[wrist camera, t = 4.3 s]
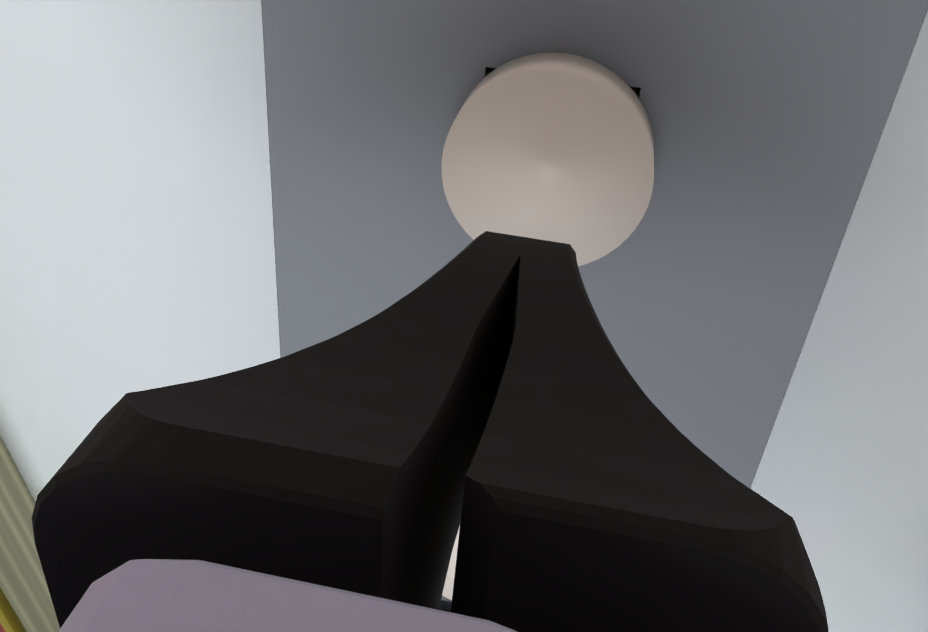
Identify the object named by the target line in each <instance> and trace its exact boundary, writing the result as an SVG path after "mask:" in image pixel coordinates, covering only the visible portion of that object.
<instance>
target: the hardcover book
mask: <svg viewBox="0 0 928 632" xmlns="http://www.w3.org/2000/svg"><path fill="white" fill-rule="evenodd" d="M34 507H35V501H34V499H33V497H32V495H31V493H30V491H29V490H28V488H27V486H26V484H25V482H24V480H23V478H22V476H21V474H20V472H19V470H18V468H17V467H16V465H15V463H14V461H13V459H12V457H11V455H10V453H9V451H8V449H7V447H6V446H5V444H4V442H3V440H2V438H1V436H0V632H58V631H59V630H60V627H59V623H58V620H57V616H56V613H55V610H54V606H53V603H52V600H51V596H50V593H49V590H48V586H47V583H46V580H45V576H44V573H43V570H42V566H41V563H40V560H39V556H38V553H37V549H36V546H35V542H34V534H33V526H32V518H31V517H32V514H33V510H34Z"/></svg>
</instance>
